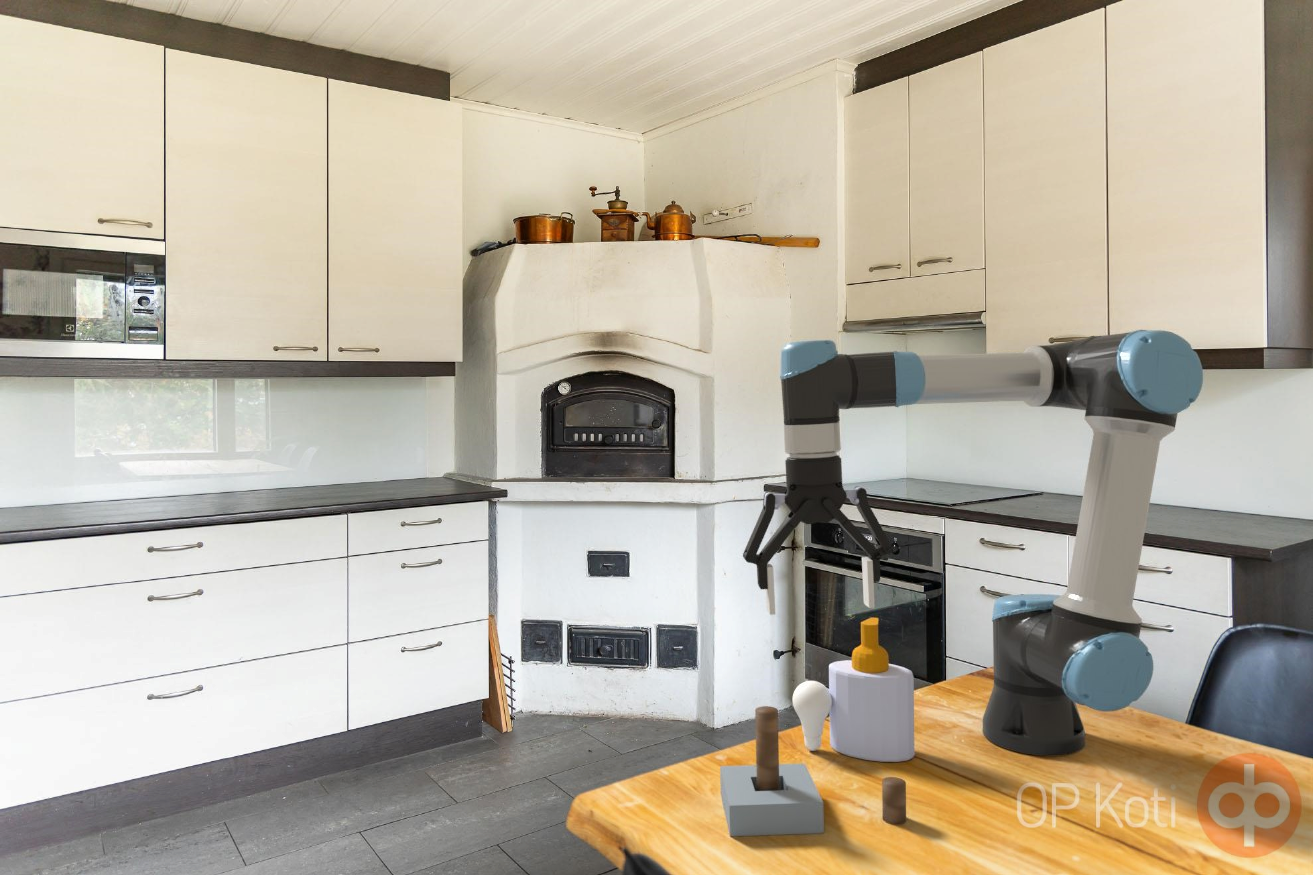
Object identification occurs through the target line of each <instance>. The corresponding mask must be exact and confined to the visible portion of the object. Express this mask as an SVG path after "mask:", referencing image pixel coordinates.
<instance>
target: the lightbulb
mask: <svg viewBox="0 0 1313 875" xmlns="http://www.w3.org/2000/svg"><path fill="white" fill-rule="evenodd" d="M791 700H792V705H793V709H794V711H795V713H796V715H797V716H798V718H799V720H800V723H801V727H802V728H801V729H802V734H803V736H804V739H803V740H804V746H805V748H807V749H809V751H812V752H816V751H817V750H818V749H820V748H821V747H822V735H823V732H824V725H825V721H826V719H827V717H828V716H829V715H830V709H831V706H832V698H831V695H830V692H829V688H827V687H826V686H825V685H824V684H823V683H821V682H819V681H817V680H806V681H804V682H803V681H802V683H800V684H798V685H797V687H796V688H795V690H794V691H793V694H792V699H791Z"/></svg>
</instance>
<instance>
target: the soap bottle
mask: <svg viewBox="0 0 1313 875" xmlns="http://www.w3.org/2000/svg"><path fill="white" fill-rule="evenodd" d="M860 643H861V644H860V645H859V646H857V647H855V648H854V649H853V650H852V653H851V659H849V660H847V659H846V660H840V661H839V660H837V661H833V662H832V663H829V665H828V691H829V692H830V695H831V698H832V706H831V709H830V711H829V745H830V747H831V749H832V750H835V751H836V752H837V753H840V754H843V755H845V756H848V757H852V758H856V759H862V760H866V761H873V762H874V761H875V762H880V763H881V762H882V763H884V762H886V763H889V762H891V763H898V762H905V761H910V760H911V759H913V758H914V757H915V685H914V684H915V682H914V681H915V679H914V674H913V671H912V670H910V669H908V668H906V667H904V666H900V665H896V664H891V663H889V662H890V661H889V653H888V651H887V650H886V649H885V648H884V647H883V646H881V645H879V617H869V618H867V619H865V620H863V621H861V622H860Z"/></svg>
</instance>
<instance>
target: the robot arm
mask: <svg viewBox="0 0 1313 875" xmlns="http://www.w3.org/2000/svg"><path fill="white" fill-rule="evenodd" d="M838 353H839V352H838V350H837V344H836V343H835V341H833V340H830V339H826V340H824V339H823V340H822V339H821V340H819V339H817V340H804V341H794V342H793V341H792V342H788V343H786V344H785V345H784V346H783V347H782V348H781V352H780V354H781V355H780V375H779V378H780V383H781V399H782V400H781V401H782V409H783V410H782V411H783V435H784V452H785V454H788V455H789V457H786V459H785V460H784V462H785V463H784V464H785V480H786V482H785V483H786V484H785V485H786V486H785V487H786V489H785V492H784V493H772V492H770V491H766V492H764V493H763V504H762V509H761V512H760V514H759V515H758V518H757V520H756V524H755V526H754V527H753V530H752V533H751V535H750V537H749V539H748V542H747V545H746V547H745V549H744V550H743V553H742V557H743V559H744V560H745V561H746V562H747V563H750V564H754V565H755V566H756V575H757V586H758V587H759V589H760V590H765V601H766V602H765V603H766V605H765V606H766V611H767V612H768V614H769V615H770V616H771V615H773V616H774V615H776V600H775V599H776V597H775V580H774V578H775V577H774V566H773V565H772V564H771V563H770V561H771V560H772V559H773V557H774V556H775V554H776V553H777V552H778V550H780V548H781V547H782V545H783V544H784V543H785V541H786V540H787V538H788V537H790V535H791V533H792V532H793V531H794V530H795V529H796V528H797V527H798V526H799V524H800V523H802V524H805V525H813V524H817V523H821V524H829V523H830V522H832V521H833V520H834V521H835V522H836V523H837V524H838V525H839V526H840V527H841V529H843V530H844V531H845V532H846V533H847V534H848V536H849V537H850V538H851V539H852V540H853V541H854V542H855V543H856V544H857V545H858V546H859V547H860V548H861V549H862V550H863V551H864V553H865V554H866V555H867V556H865V557H864V556H862V557H861V569H862V571H861V572H862V591H863V592H862V593H863V594H862V595H863V596H862V597H863V604H864V605H865V606H866V607H867V608H869V609H875V608H876V607H875V606H876V605H875V585H874V584H875V583H880V581H881V563H880V562H881V560H882V558H883V557H884V556H885V555H890V554H892V553H893V552H894V547H893V546H892V544H891V541H890V540H889V538H888V536H887V535H886V533H885V531H884V529H883V527H882V526H881V524H880V522H879V520H878V517H877V516H876V514H875V513H874V512H873V509H872V507H871V506H870V505H869V499H868V493H867V490H866V489H865V488H864V487H860V486H855V487H853V488H852V489H851V488H850V489H844V486H843V472H842V471H843V470H842V469H843V468H842V467H843V466H842V457H840V455H838V454H837V453H838V452H839V451H841V448H842V447H841V444H842V443H841V431H840V430H841V429H840V428H841V427H840V419H841V418H840V410H849V409H868V408H869V409H871V408H872V409H873V408H885V407H887V408H889V407H895V408H899V407H901V406H911V405H926V404H927V405H929V404H930V405H931V404H933V405H934V404H959V403H960V404H961V403H962V404H965V403H967V404H968V403H993V402H994V403H995V402H1021V401H1022V402H1024V403H1025V404H1026V405H1027V406H1030V407H1039V408H1040V407H1052V408H1053V407H1054V408H1063V409H1072V410H1073V409H1074V410H1080V411H1085V413H1084V420H1085V421H1086V423H1087V424H1088V425H1089V427H1090V428H1091V429H1092V432H1093V435H1092V442H1091V447H1090V451H1089V452H1090V453H1089V457H1088V458H1089V459H1088V464H1087V469H1086V470H1087V471H1086V476H1085V481H1084V487H1083V494H1082V498H1081V499H1082V500H1081V506H1080V511H1079V517H1078V523H1077V528H1076V535H1075V541H1074V547H1073V553H1072V557H1071V558H1072V559H1071V562H1070V563H1071V564H1070V569H1069V575H1068V581H1067V585H1066V586H1067V587H1066V591H1065V593H1063V594H1062V595H1058V594H1043V593H1042V594H1041V593H1037V594H1036V593H1033V594H1032V593H1031V594H1030V593H1029V594H1028V593H1025V594H1024V593H1023V594H1010V595H1003V596H1001V597H1000V596H999V598H997V599H996V600H995V601H994V603H993V610H992V619H991V622H992V637H993V638H992V643H993V644H992V646H993V648H992V651H993V655H992V656H993V687H992V691H991V693H990V697H989V699H988V702H987V704H986V707H985V710H984V713H983V715H982V716H983V717H982V734H983V737H985V738H986V739H987V740H988V741H989V742H991V743H993V744H994V745H996V746H999V747H1001V748H1004V749H1007V750H1010V751H1013V752H1017V753H1020V754H1022V753H1023V754H1026V755H1027V754H1028V755H1035V756H1050V757H1051V756H1054V757H1055V756H1067V755H1072V754H1075V753H1077V752H1079V751H1082V750H1083V749H1084V747H1085V745H1086V730H1085V727H1084V726H1085V725H1083V721H1082V718H1081V715H1080V712H1079V709H1078V707H1077V705H1080V706H1085V707H1087V708H1089V709H1092V710H1095V711H1099V712H1116V711H1119V710H1123V709H1125V708H1127V707H1129V706H1130V705H1131V704H1132V703H1133V702H1136V701H1138V700H1139V699H1141V697H1142V696H1143V695H1144V693H1146V691H1147V689H1148V687H1149V686H1150V683H1151V681H1152V678H1153V674H1154V660H1153V655H1152V653H1151V652H1149V648H1148V646H1147V645H1146V644H1145V643H1144V641H1143V640H1141V638H1140V637H1141V636H1140V634H1141V630H1142V629H1141V628H1142V623H1143V620H1142V617H1141V616H1140V615H1139V613H1137V611H1136V610H1135V609H1134V606H1133V603H1134V596H1135V591H1136V585H1137V579H1138V573H1139V566H1140V561H1141V556H1142V551H1143V550H1142V549H1143V545H1144V544H1143V543H1144V538H1145V532H1146V527H1147V522H1148V521H1147V520H1148V514H1149V509H1150V508H1149V507H1150V504H1151V503H1150V502H1151V497H1152V491H1153V486H1154V485H1153V484H1154V480H1155V476H1156V475H1155V474H1156V469H1157V462H1158V457H1159V452H1160V451H1159V450H1160V443H1161V441H1162V440H1163V439H1164V438H1166V437H1167V436H1169V435H1170V434H1171V433H1173V432H1174V431H1175V430H1176V424H1177V418H1178V413H1181V412H1183V411H1185V410H1187V409H1188V408H1189V407H1190V406H1191V404H1192V403H1195V402H1196V401H1197V399H1198V397H1199V396H1200V393H1201V391H1202V387H1203V382H1204V372H1203V366H1202V363H1201V359H1200V357H1199V354H1198V352H1196V351H1195V350H1193V347H1192V345H1191V344H1190V342H1188V341H1187V340H1186V339H1185V338H1183V337H1182V336H1180V335H1179V334H1177V333H1174V332H1171V331H1167V330H1161V329H1160V330H1159V329H1157V330H1156V329H1155V330H1151V329H1150V330H1146V329H1138V330H1135V331H1130V332H1124V333H1123V332H1122V333H1115V334H1108V335H1107V334H1106V335H1095V336H1090V337H1086V338H1085V337H1084V338H1081V339H1080V338H1079V339H1076V340H1071V341H1067V342H1061V343H1060V342H1059V343H1054V344H1048V345H1032V346H1029V347H1027V348H1026V349H1024V351H1023V352H1002V353H1001V352H999V353H998V352H997V353H995V352H994V353H993V352H992V353H960V354H959V353H958V354H956V353H955V354H927V355H918V354H917V353H916V352H913V351H897V350H893V351H882V352H881V351H880V352H867V353H866V352H865V353H854V354H852V353H851V354H846V353H845V354H842V353H839V354H838ZM847 499H849V502H850V503H851V504H853V505H855V507H856V509H857V510H858V513H859V514H860V516H861V517H862V519H863V522H864V523H865V525H866V527H867V528H868V529H869V532H870V533H871V536H872V537H873V539H874V541H875V542H876V544H877V545H876V546H874V545H873V544H872V542H870V540H868V538H866V536H865V535H864V534H863V533H862V532H861V531H860V530H859V529H858V528H857V527H856V526H855V524H854V523H852V522H851V520H850V519H849V518H848V516H846V515H845V514H844V512H843V511H842V510H841V508H842V506H843V505H844V503H845V502H846V500H847ZM782 503H784V504H785V505H786V507H787V508H788V509H789V510H790V511H789V512H788V514H786V515H785V517H784V519H783V521H782V522H781V524H780V525H779V527H778V528H777V529H776V530H775V532H774V533H773V534H772V536H771V537H770V539H768V541H767V543H766V544H765V545H764V546H763V547H762V549H761V550H760V546H762V545H761V544H762V542H763V540H764V538H765V535H766V533H767V531H768V528H769V525H770V524H771V521H772V519H773V516H774V514H775V510H779V509H780V507H781V504H782ZM759 550H760V552H759V553H758V551H759Z"/></svg>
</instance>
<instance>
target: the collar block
mask: <svg viewBox="0 0 1313 875" xmlns="http://www.w3.org/2000/svg"><path fill="white" fill-rule="evenodd" d="M719 768H720V769H719V772H720V773H719V776H720V777H719V778H720V796H721V797H720V798H721V801H722V807H723V811H724V815H725V820H726V825H727V828H728V832H729V833H728V834H729V837H748V836H751V837H752V836H775V835H778V836H779V835H780V836H781V835H804V834H805V835H807V834H824V833H825V831H824V829H825V826H824V821H825V819H824V818H825V817H824V801H823V799H822V797H821V794H820V793H819V790H818V789H817V786H816V783H815V782H814V780H813V777H812V776H811V774H810V771H809V768H808V767H807V765H806V763H805V762H802V763H798V762H797V763H779V790H776V791H757V771H756V764H745V765H719Z"/></svg>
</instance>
